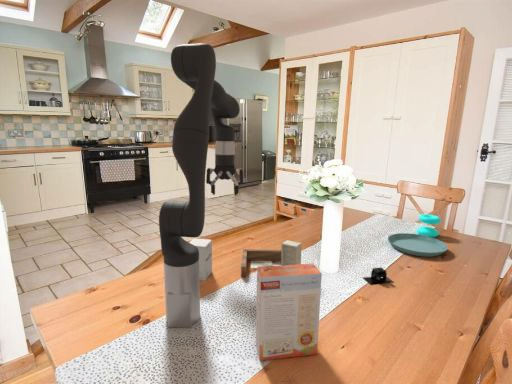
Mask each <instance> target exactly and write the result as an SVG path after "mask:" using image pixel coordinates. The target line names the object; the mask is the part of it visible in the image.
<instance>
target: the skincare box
mask: <svg viewBox="0 0 512 384" xmlns="http://www.w3.org/2000/svg"><path fill="white" fill-rule="evenodd" d="M280 250H281V261H280V263H281V264H280V265H296V264H302V242H299V241H295V240H294V241H293V240H290V239H286V240H284V241H283V242H281V249H280Z"/></svg>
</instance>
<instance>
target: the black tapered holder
mask: <svg viewBox="0 0 512 384" xmlns="http://www.w3.org/2000/svg"><path fill="white" fill-rule="evenodd" d="M387 274H388V273H387V270H386V269H384V268H383V267H373V268H372V269H371V272H370V276H365V277H361V279H363V280H364V281H365V282H366V283H368V285H370V286H375V285H376V286H377V285H384V284H394V283H395V281H394V280H392V279H391V278H389V277H388V275H387Z"/></svg>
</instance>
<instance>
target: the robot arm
mask: <svg viewBox="0 0 512 384" xmlns="http://www.w3.org/2000/svg"><path fill="white" fill-rule="evenodd" d="M170 63H171V64H170V65H171V68H172V71H173V73H174V75H175V77H177V78H178V79H179V80H180V81H181V82H183V83H184V84H186V85H187V86H188V87H190V89H192V90H194V91H193V94H192V96H191V98H190V99H189V101H188V102H187V104H186V105H185V107H184V108H183V109H182V111H181V112H180V113H179V115H178V117H177V118H176V121H175V123H174V126H173V132H172V144H171V145H172V146H171V150H172V154H173V157H174V158H175V160H176V163H177V164H178V166H179V168H180V169H181V171H182V173H183V175H184V178H185V180H186V183H187V185H188V186H187V187H188V194H189V195H188V196H189V198H188V201H186V200H183V201H182V200H166V201H164V202H163V204H162V205H161V207H160V208H159V209H160V210H159V215H158V226H159V227H158V228H159V237H160V247H161V254H162V256H163V257H162V258H163V267H164V268H163V275H164V297H165V298H164V299H165V315H166V316H165V318H166V319H165V320H166V323H167V327H168V328H192V327H193V325H194V324H196V323H197V322H198V321H199V319H201V294H200V293H201V291H200V290H201V288H200V285H201V284H200V282H201V280H200V279H199V250H198V248H197V247H196V246H194V245H193V244H190V243H189V242H190V241H187V240H185V239H184V238H198V237H200V236H201V235H202V233H203V230H204V226H205V219H206V218H205V217H206V216H205V215H206V211H205V210H206V184H207V185H210V193H211V194H212V195H213V196H214V195H216V182H217V181H218V180H222V181H223V180H227V181H229V180H231V182H233V184H234V196H237V194H239V186H241V185H243V184H244V171H243V168H242V167H241V168H236V166H235V165H236V163H235V162H236V157H235V156H236V147H235V127H234V126H233V125H229V124H227V123H226V124H225V123H224V122H223V119H236V118H237V117H238V116H239V114H240V110H241V109H240V104H239V102H238V101H237V99H236V98H235V97H234V96H232V95H230V93H227V92H226V90H225V89H224V86H222V84H220V83H219V82H218V80H216V79H215V77H216V69H217V58H216V52H215V49H214V47H213V46H212V45H211V44H209V43H190V44H189V43H186V44H185V43H184V44H178V45H175V46H174V47H173V49H172V50H171V54H170ZM210 115H211V116H212V120H213V123H214V128H215V146H214V166H215V167H214V168H211V167H207V160H208V151H209V140H210V139H209V138H210V118H211V116H210ZM213 172H214V174H215V178H214V179H213V180H211V174H213ZM236 173H237V175H239V181H238V180H237V178H236V177H235V174H236Z"/></svg>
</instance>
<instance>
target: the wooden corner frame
mask: <svg viewBox="0 0 512 384" xmlns="http://www.w3.org/2000/svg"><path fill="white" fill-rule="evenodd" d="M281 250H282V249H257V248H256V249H251V248H250V249H242V255H241V265H240V267H241V268H240V277H241V278H246V277H247V276H246V275H247V262H248V261H250V269H251V270H257V267H261V266H273V261H277V262H281Z"/></svg>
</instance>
